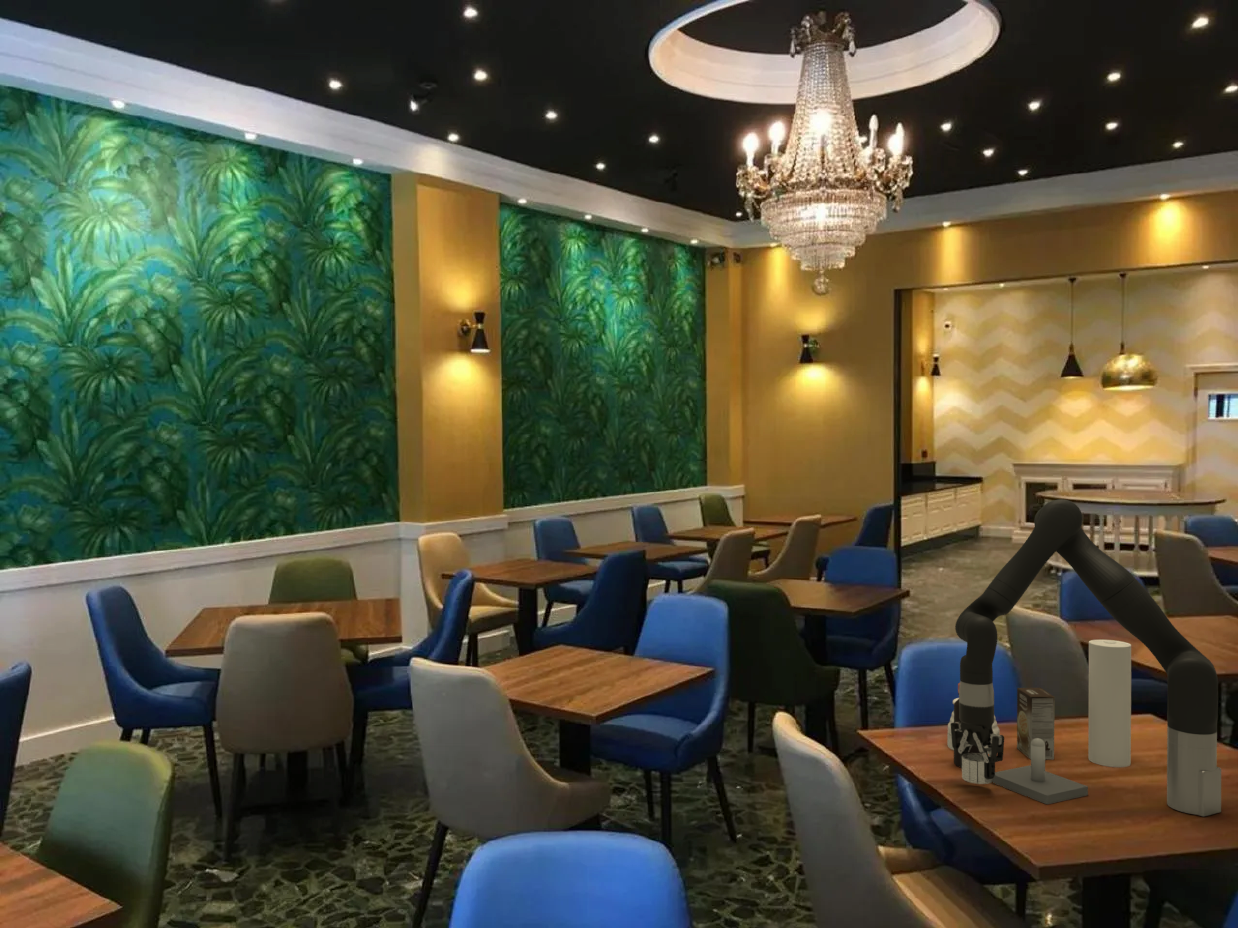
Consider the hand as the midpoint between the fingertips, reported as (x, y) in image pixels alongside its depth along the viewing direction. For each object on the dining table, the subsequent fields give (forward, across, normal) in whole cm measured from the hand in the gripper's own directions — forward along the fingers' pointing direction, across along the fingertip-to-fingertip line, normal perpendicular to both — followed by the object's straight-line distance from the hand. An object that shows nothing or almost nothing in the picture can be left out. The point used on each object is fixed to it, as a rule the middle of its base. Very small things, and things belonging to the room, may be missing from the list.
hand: (977, 773), depth 218 cm
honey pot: (+4, +23, -23) cm, 33 cm away
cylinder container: (+4, 0, -45) cm, 45 cm away
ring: (+1, 0, 0) cm, 1 cm away
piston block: (+4, -6, -13) cm, 15 cm away
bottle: (+4, +13, -11) cm, 18 cm away
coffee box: (+4, +12, -33) cm, 35 cm away
